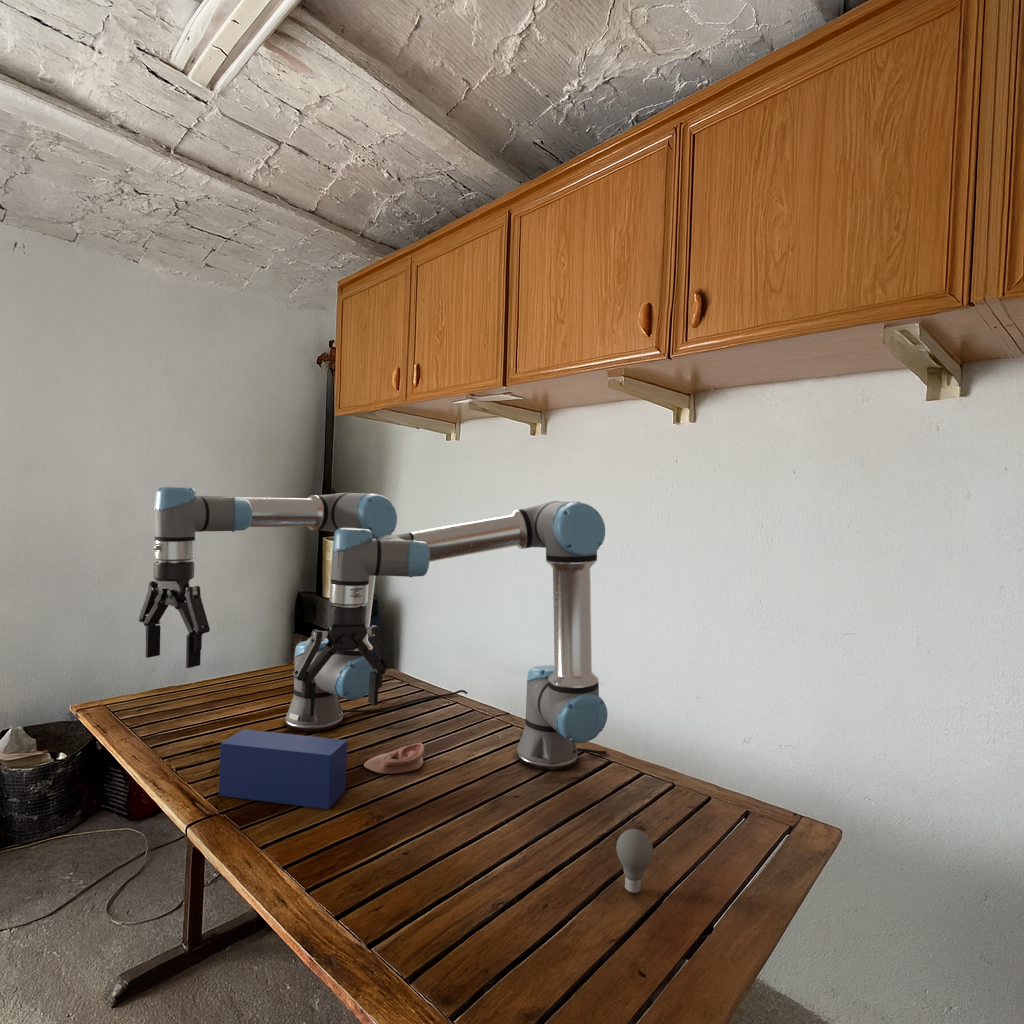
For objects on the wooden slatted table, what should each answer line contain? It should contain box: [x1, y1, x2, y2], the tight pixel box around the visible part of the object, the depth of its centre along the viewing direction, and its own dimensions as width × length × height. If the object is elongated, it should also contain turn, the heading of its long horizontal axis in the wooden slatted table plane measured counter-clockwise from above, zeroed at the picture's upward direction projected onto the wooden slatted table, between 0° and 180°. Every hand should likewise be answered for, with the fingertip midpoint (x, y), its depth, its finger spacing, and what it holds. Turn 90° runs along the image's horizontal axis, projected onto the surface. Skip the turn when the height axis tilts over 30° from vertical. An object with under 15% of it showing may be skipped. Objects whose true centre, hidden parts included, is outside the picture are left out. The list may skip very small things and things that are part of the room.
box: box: [218, 728, 348, 810], centre depth 135 cm, size 24×8×11 cm, turn 81°
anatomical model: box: [363, 742, 425, 775], centre depth 151 cm, size 13×4×12 cm
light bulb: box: [615, 828, 654, 894], centre depth 106 cm, size 6×6×10 cm
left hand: (172, 661), depth 133 cm, fingers open, 13 cm apart
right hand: (341, 708), depth 128 cm, fingers open, 13 cm apart
